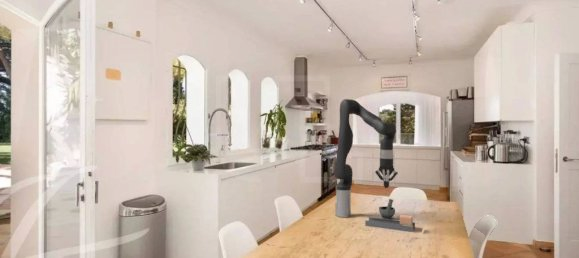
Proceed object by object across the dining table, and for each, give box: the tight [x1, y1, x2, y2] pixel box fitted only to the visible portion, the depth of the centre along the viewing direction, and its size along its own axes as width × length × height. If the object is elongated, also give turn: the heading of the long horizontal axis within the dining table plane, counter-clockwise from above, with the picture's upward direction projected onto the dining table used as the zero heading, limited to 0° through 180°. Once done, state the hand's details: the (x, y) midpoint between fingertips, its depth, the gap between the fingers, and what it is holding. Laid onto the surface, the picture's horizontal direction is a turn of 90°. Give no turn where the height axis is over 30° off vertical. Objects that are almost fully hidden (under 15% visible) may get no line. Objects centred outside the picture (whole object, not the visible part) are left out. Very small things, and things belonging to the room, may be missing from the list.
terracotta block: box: [399, 214, 414, 226], centre depth 192 cm, size 6×6×7 cm
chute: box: [364, 216, 416, 233], centre depth 196 cm, size 26×9×4 cm, turn 63°
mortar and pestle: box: [378, 198, 396, 220], centre depth 215 cm, size 11×9×12 cm
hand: (386, 187), depth 197 cm, fingers closed
